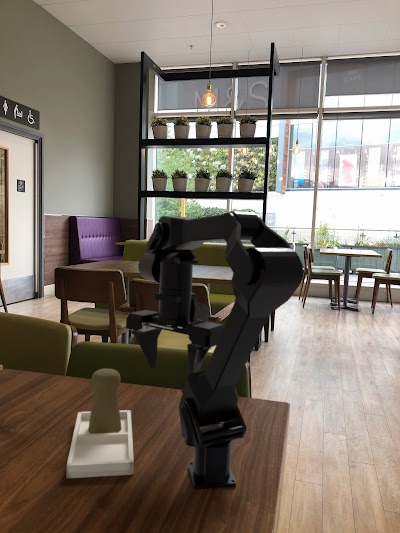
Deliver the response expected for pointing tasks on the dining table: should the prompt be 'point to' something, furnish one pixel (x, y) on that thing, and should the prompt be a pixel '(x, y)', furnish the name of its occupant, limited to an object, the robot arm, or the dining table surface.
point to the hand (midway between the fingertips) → (172, 373)
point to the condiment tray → (101, 449)
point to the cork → (105, 402)
